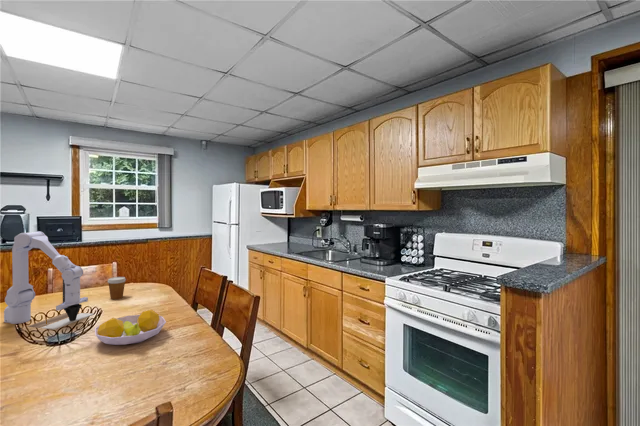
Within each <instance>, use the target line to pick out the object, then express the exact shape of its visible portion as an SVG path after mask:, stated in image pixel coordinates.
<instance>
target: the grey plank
mask: <svg viewBox="0 0 640 426" xmlns="http://www.w3.org/2000/svg"><path fill="white" fill-rule="evenodd" d="M93 315H95V313H88V312H83V313H82V312H79V314H77V317H76V320H75V321H70V320H69V317H68V318H65V319H63V320H60V321H57V322H54V323H52V324H49V325H46V326H43V327H41V329H45V330H58V329H60V328H62V327H65V326H67V325H70V324H73V323H75V322H78V321H81V320H83V319H86V318H89V317H92V316H93Z"/></svg>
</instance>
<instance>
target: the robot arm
mask: <svg viewBox="0 0 640 426" xmlns="http://www.w3.org/2000/svg"><path fill="white" fill-rule="evenodd" d="M11 248H12V249H11V252H12V253H11V254H12V259H11V260H12V268H11V269H12V286H10V287H9V288H8V289H7V290H6V296H5V297H4V302H5V304H6V305H7V306H6V307H5V309H4V310H3V322H4V323H8V324H12V325H13V324H14V325H16V324H23V323H27V322H30V321H31V318H32V316H31V315H32V311H31V310H32V306H31V305H32V303H33V301H34V299H35V298H36V292H35V291H34V285H32V284H31V283H29V281H30V279H29V278H30V277H29V251H31V250H32V249H39V250H41V251H42V252H43V253H44V254H45V255H47V256H48V257H49V258H50V259H51V260H52V262H51V263H52V265H54V267H56V269H57V270H58V271H59V272H60V273H61V279H62V281H63V280H64V283H65V302H64V303H63V302H62V303H60V304H58V305H56V306H55V311H62V310H64V311H65V313H67V315H68V318H69V320H70V321H75V320H76V317H77V314H78V313H80V312H79V311H80V309H82V303H86V302H89V297H88V296H87V297H86V296H84V297H81V277H82V276H83V275H84V270H83V268H82V267H81V266H79V265H76V264H75V263H73V262H72V261H71V260H70V259H69V257H68V256H65V255H64V254H60V253H59V252H58V251H57V249H56V248H55V246H53V245H52V243H51V242H50V241H49V237H48V236H47V235H46V234H45V233H44V232H43V231H39V230H37V231H33V232H30V231H29V232H21V233H19V234H18V233H17V235H15V236H14V240H13V244H12V247H11Z"/></svg>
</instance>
